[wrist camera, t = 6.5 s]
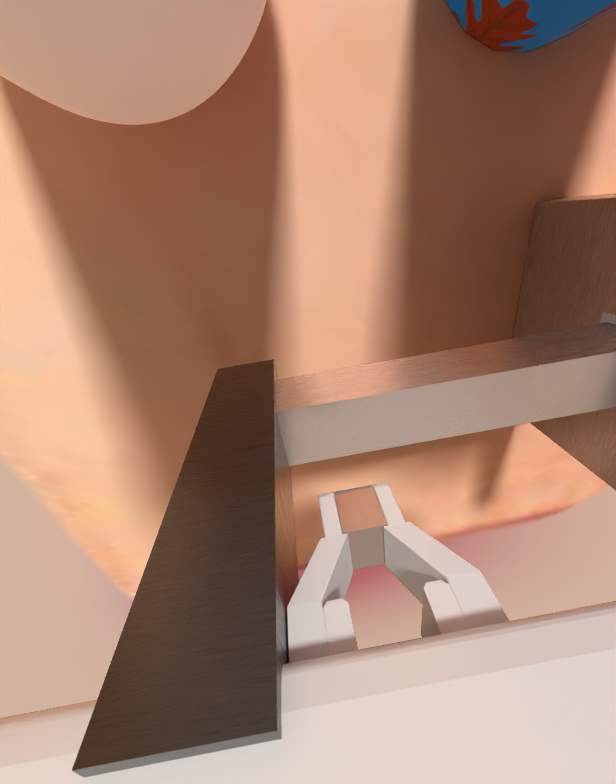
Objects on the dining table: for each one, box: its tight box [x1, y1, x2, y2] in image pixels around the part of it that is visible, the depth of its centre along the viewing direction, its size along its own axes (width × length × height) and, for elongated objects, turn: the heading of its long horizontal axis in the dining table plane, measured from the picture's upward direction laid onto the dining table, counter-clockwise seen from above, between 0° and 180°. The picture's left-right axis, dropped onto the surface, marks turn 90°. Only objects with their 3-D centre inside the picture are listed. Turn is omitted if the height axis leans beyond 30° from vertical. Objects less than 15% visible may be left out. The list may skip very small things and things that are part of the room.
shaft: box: [72, 322, 616, 777], centre depth 12 cm, size 20×4×14 cm, turn 98°
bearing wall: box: [513, 194, 616, 490], centre depth 17 cm, size 2×14×12 cm, turn 8°
